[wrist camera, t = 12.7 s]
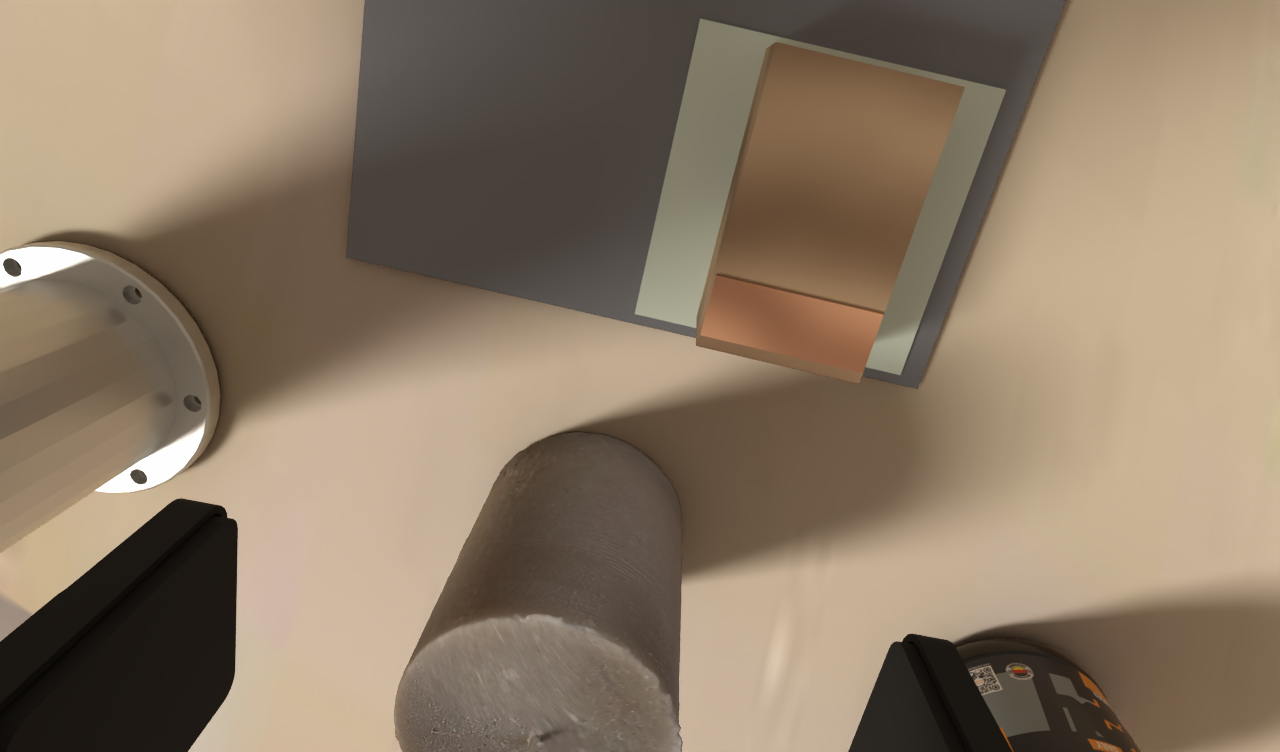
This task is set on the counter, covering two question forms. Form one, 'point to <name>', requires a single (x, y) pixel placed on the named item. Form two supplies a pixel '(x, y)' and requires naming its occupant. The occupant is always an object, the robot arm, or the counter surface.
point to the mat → (650, 142)
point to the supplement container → (1043, 698)
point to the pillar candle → (557, 612)
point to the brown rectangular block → (821, 210)
